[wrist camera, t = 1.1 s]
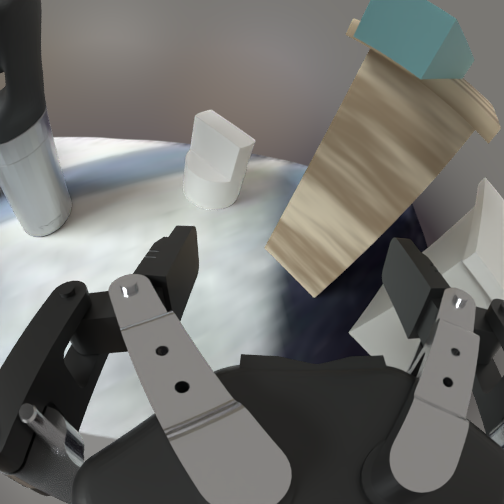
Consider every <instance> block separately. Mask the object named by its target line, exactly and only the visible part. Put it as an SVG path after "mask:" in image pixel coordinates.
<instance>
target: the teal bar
mask: <svg viewBox="0 0 504 504" xmlns="http://www.w3.org/2000/svg"><path fill="white" fill-rule="evenodd" d="M353 37H355V38H357V39H359V40H361V41H363V42H364V43H366V44H368V45H369V46H371V47H373V48H375V49H376V50H378V51H379V52H381V53H383V54H384V55H386V56H387V57H389V58H391V59H392V60H394V61H395V62H397V63H398V64H400V65H401V66H403V67H404V68H405V69H407V70H408V71H410V72H411V73H412V74H414V75H415V76H417V77H418V78H419V79H462V78H463V77H464V75H465V74H466V72H467V71H468V69H469V68H470V66H471V65H472V63H473V61H474V58H473V55H472V53H471V50H470V48H469V45H468V43H467V41H466V38H465V36H464V34H463V32H462V30H461V27H460V25H459V23H458V21H457V19H455V18H454V17H452V16H451V15H449V14H448V13H446V12H445V11H443V10H442V9H440V8H439V7H437V6H435V5H433V4H432V3H430V2H428V1H427V0H371V1H370V3H369V5H368V7H367V9H366V11H365V13H364V15H363V17H362V19H361V21H360V23H359V25H358V27H357V29H356V31H355V34H354V36H353Z"/></svg>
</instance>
